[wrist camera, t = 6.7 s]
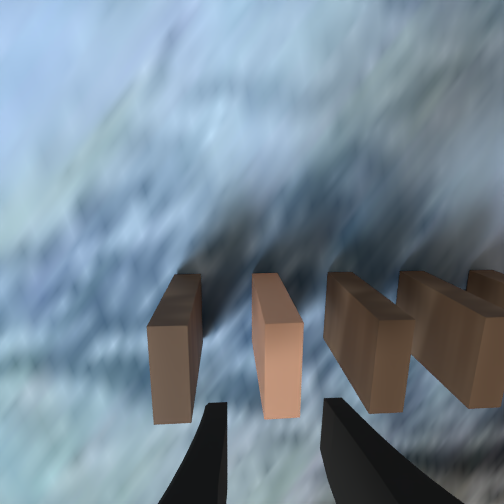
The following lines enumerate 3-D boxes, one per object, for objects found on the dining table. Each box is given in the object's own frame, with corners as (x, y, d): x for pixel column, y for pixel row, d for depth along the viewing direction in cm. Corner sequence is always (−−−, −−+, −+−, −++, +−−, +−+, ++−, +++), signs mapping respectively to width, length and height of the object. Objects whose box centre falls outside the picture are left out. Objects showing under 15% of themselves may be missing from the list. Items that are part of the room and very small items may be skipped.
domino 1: (201, 274, 19) (187, 325, 13) (202, 341, 21) (191, 422, 14) (174, 274, 19) (146, 326, 13) (177, 342, 20) (154, 424, 14)
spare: (277, 272, 20) (303, 322, 13) (275, 339, 21) (299, 417, 14) (252, 273, 20) (265, 323, 13) (252, 340, 21) (264, 419, 14)
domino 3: (423, 270, 21) (520, 316, 14) (414, 335, 22) (500, 407, 15) (399, 271, 20) (485, 317, 14) (392, 336, 22) (468, 408, 15)
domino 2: (352, 271, 20) (415, 319, 13) (346, 337, 21) (402, 412, 14) (327, 272, 20) (379, 320, 13) (323, 338, 21) (368, 413, 14)
